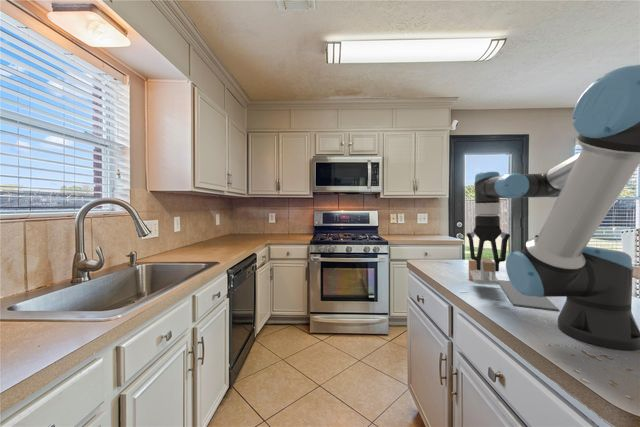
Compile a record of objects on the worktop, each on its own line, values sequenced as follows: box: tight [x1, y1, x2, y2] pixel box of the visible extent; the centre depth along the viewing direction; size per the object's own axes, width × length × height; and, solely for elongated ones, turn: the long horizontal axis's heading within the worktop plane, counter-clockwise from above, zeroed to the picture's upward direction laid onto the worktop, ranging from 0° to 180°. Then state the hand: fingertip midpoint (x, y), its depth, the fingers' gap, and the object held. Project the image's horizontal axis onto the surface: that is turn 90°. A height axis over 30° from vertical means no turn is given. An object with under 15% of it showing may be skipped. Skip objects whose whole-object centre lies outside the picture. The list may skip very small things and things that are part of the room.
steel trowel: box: [470, 257, 500, 285], centre depth 100 cm, size 23×8×9 cm, turn 154°
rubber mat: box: [498, 279, 560, 312], centre depth 99 cm, size 30×12×1 cm, turn 154°
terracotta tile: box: [468, 259, 477, 281], centre depth 117 cm, size 2×8×9 cm, turn 64°
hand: (487, 279), depth 94 cm, fingers closed on steel trowel, 3 cm apart
